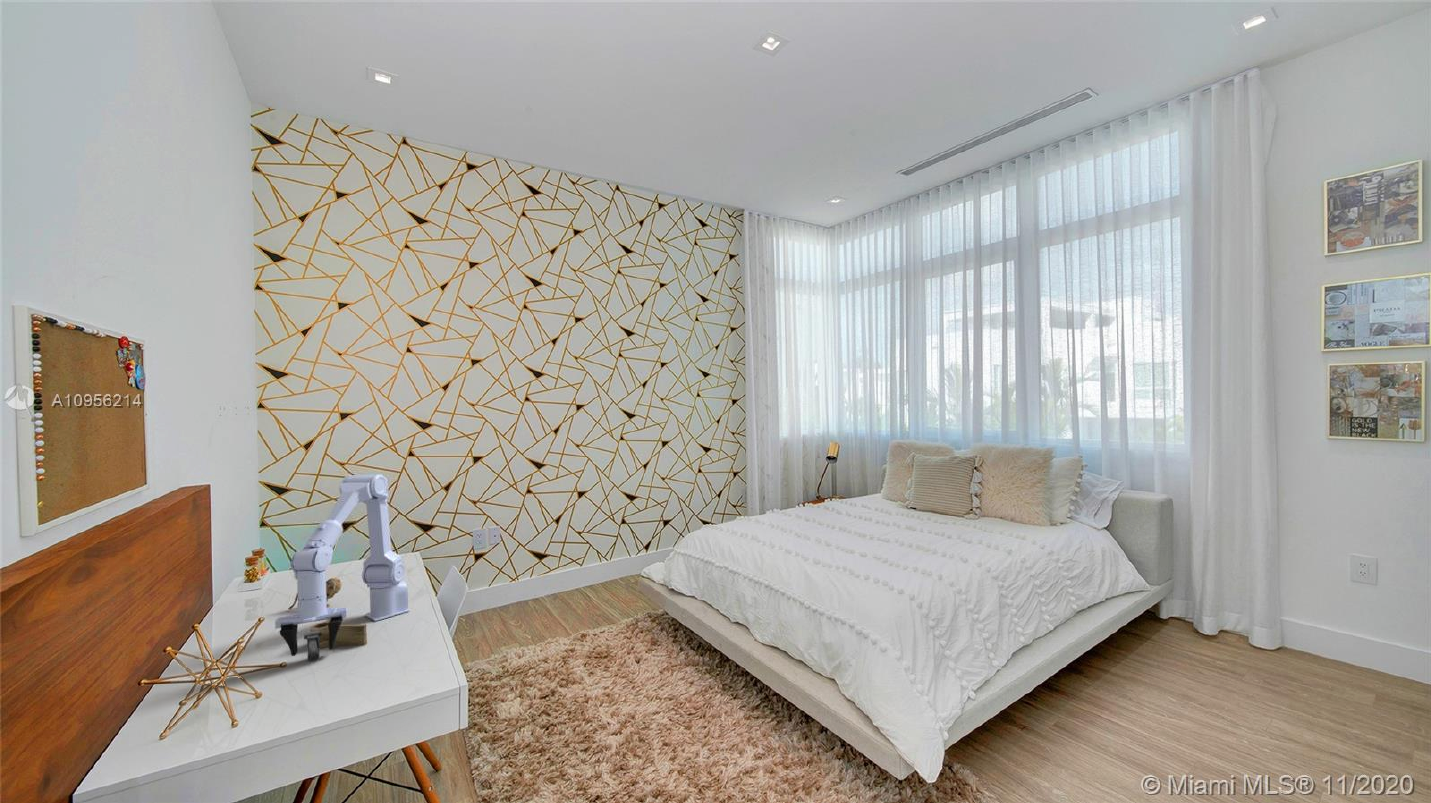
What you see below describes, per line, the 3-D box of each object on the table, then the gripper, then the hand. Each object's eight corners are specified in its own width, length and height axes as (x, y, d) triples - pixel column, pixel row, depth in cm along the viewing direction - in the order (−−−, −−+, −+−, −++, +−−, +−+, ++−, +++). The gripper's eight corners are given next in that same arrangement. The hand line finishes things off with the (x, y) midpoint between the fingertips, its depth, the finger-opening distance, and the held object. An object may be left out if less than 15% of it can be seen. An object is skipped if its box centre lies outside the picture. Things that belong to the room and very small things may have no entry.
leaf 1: (329, 645, 140) (329, 628, 140) (307, 648, 139) (306, 631, 139) (350, 624, 154) (350, 608, 154) (330, 626, 153) (329, 611, 153)
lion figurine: (345, 602, 173) (344, 574, 173) (337, 608, 168) (336, 580, 168) (292, 607, 169) (291, 579, 169) (282, 614, 164) (282, 584, 164)
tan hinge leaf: (305, 648, 140) (305, 629, 140) (321, 640, 145) (320, 621, 145) (358, 648, 139) (358, 629, 139) (372, 640, 144) (371, 621, 144)
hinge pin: (320, 653, 136) (319, 629, 136) (324, 657, 134) (324, 632, 134) (302, 659, 134) (302, 634, 134) (307, 663, 131) (306, 637, 131)
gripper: (270, 606, 127) (271, 664, 127) (343, 596, 133) (344, 651, 133) (280, 597, 134) (281, 651, 134) (349, 587, 140) (350, 640, 140)
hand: (313, 650), depth 134 cm, fingers open, 7 cm apart
